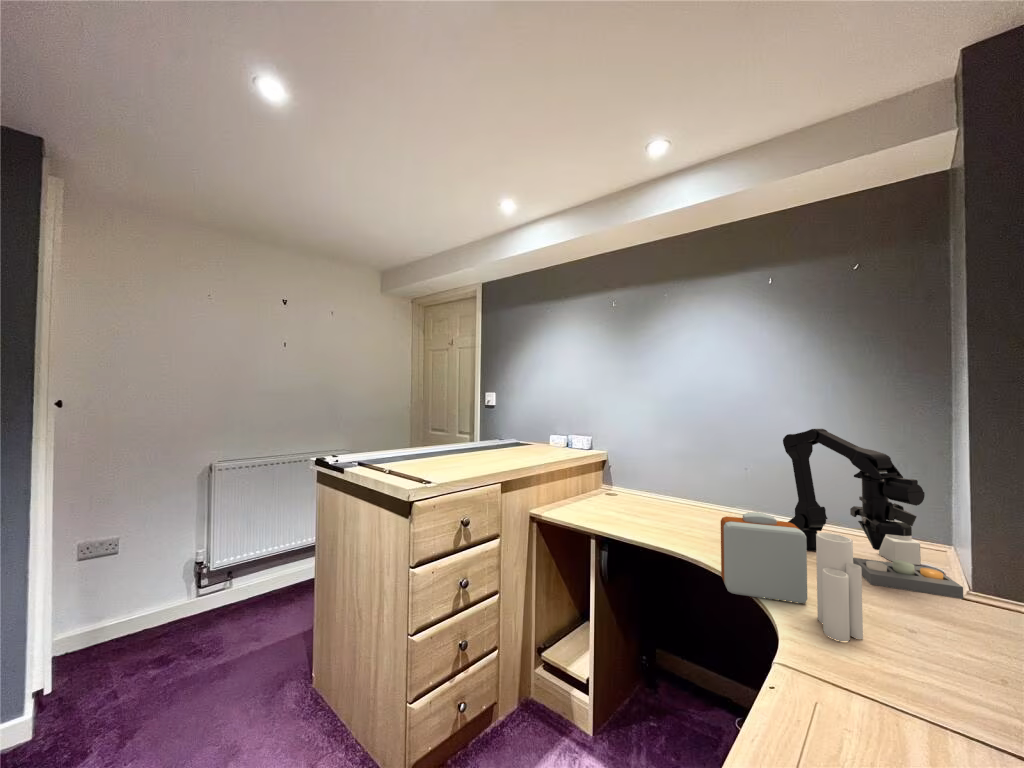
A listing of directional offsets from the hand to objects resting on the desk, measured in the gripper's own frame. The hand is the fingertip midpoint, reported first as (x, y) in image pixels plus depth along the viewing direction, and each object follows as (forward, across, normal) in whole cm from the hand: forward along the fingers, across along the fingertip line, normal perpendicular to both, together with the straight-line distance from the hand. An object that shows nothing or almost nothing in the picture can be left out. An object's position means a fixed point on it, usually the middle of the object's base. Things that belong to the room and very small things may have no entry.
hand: (876, 549), depth 114 cm
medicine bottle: (+8, +19, -12) cm, 24 cm away
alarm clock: (+8, -23, +33) cm, 41 cm away
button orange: (+7, 0, -12) cm, 14 cm away
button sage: (+6, 0, -6) cm, 8 cm away
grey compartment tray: (+8, 0, -6) cm, 10 cm away
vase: (+8, -36, +20) cm, 42 cm away
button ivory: (+7, 0, 0) cm, 7 cm away
